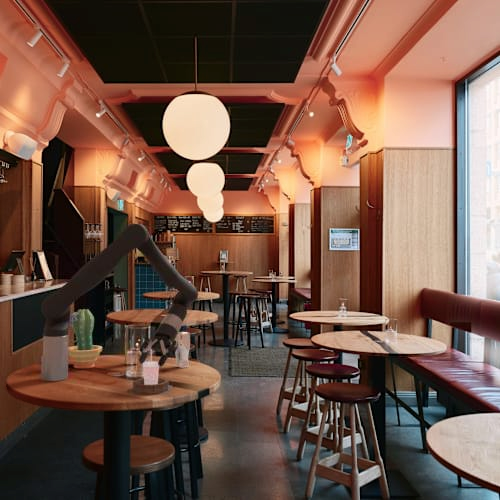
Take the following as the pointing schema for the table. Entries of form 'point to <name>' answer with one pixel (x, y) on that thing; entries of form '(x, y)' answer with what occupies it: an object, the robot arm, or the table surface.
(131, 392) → the mat
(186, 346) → the beer glass
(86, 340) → the potted cactus
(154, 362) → the beverage cup
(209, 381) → the table surface
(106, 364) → the table surface
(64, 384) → the table surface
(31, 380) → the table surface
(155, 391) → the bowl
